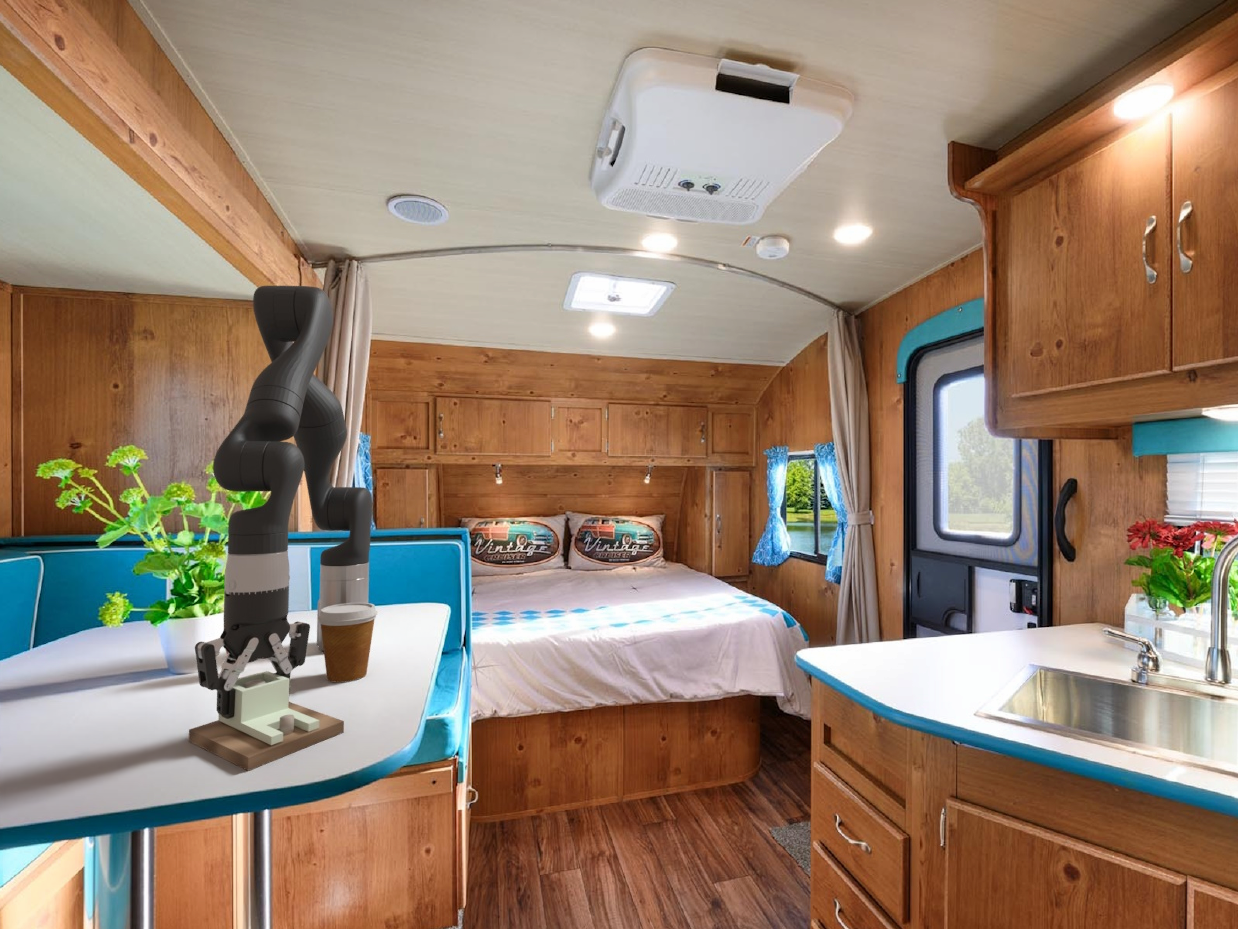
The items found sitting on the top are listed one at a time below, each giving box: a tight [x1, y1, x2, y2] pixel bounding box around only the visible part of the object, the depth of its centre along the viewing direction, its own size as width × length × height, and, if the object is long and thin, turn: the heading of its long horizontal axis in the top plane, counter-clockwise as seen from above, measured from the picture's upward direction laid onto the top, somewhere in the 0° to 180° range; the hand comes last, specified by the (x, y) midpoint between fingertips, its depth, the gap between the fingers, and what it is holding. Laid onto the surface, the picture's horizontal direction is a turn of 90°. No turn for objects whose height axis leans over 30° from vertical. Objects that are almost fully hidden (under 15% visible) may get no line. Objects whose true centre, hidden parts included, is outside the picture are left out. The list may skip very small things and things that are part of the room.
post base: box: [188, 680, 345, 772], centre depth 75 cm, size 15×12×6 cm
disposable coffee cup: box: [318, 602, 378, 683], centre depth 99 cm, size 10×10×12 cm
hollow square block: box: [218, 670, 319, 745], centre depth 75 cm, size 14×6×5 cm, turn 59°
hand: (254, 708), depth 77 cm, fingers closed on hollow square block, 6 cm apart
